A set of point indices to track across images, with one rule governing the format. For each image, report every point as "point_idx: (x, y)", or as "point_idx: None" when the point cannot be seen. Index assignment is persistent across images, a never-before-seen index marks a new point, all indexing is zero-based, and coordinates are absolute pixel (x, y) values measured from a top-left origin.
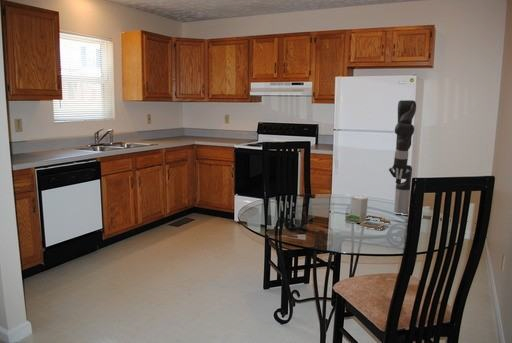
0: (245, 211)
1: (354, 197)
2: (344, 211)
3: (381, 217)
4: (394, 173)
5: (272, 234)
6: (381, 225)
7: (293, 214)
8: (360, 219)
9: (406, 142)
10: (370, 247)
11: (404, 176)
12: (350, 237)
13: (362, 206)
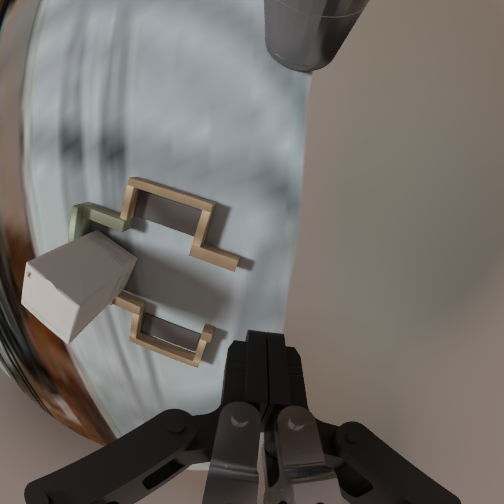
0: None
1: (34, 315)
2: (57, 105)
3: (194, 206)
4: (159, 466)
5: (31, 396)
6: (203, 346)
7: None
8: (116, 296)
9: None
10: None
11: (342, 480)
12: (142, 418)
13: (90, 319)
